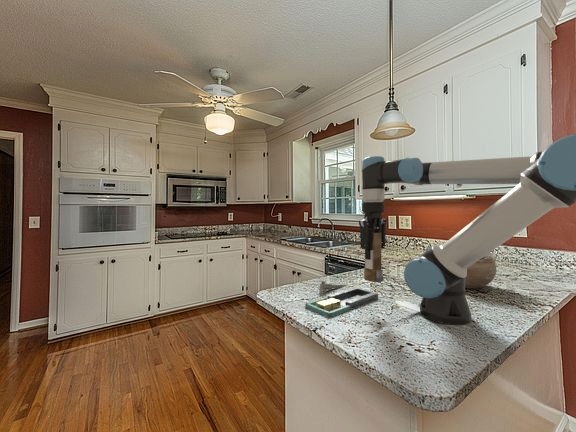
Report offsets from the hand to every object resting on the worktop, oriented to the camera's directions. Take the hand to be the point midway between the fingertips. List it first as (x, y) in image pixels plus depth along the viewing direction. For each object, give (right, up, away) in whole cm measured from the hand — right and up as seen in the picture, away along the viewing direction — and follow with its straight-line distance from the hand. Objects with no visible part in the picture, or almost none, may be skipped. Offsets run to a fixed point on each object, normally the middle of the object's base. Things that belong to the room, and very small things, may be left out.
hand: (373, 267), depth 96 cm
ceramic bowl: (+52, -14, +29) cm, 62 cm away
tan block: (-17, -16, 0) cm, 23 cm away
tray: (-16, -16, +1) cm, 23 cm away
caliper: (-9, -16, +25) cm, 30 cm away
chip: (-14, -16, +2) cm, 21 cm away
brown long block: (0, -5, 0) cm, 5 cm away
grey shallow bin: (-5, -16, +10) cm, 19 cm away
